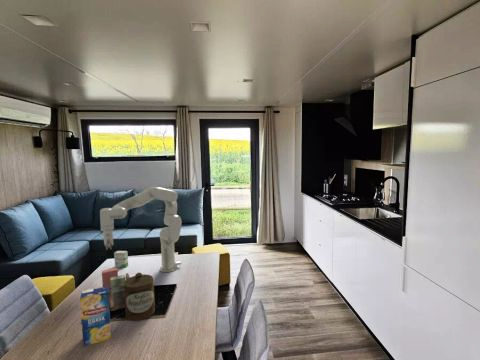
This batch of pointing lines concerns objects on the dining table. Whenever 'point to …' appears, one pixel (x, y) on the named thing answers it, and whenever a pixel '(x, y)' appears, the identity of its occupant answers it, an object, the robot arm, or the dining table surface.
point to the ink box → (121, 259)
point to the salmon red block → (108, 276)
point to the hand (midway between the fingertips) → (108, 253)
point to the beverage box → (95, 315)
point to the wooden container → (139, 297)
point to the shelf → (117, 292)
